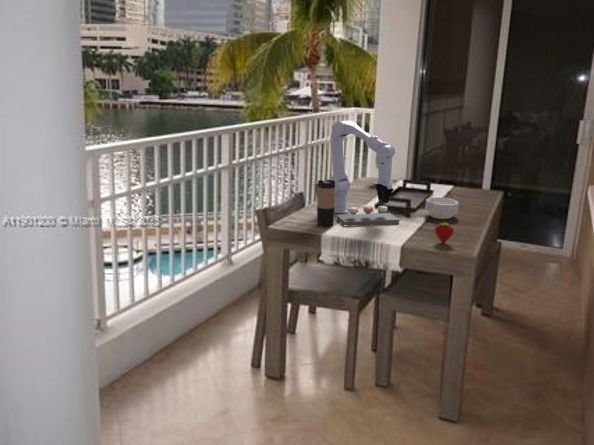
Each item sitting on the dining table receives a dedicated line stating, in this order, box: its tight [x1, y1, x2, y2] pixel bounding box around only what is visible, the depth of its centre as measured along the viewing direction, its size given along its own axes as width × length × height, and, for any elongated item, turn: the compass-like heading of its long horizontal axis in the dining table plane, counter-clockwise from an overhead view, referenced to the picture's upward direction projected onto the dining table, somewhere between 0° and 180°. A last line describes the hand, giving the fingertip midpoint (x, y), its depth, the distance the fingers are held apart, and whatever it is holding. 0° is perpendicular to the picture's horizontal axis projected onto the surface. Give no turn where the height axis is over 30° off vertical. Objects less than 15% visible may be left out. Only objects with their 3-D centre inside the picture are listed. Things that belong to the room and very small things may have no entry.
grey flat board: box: [336, 212, 400, 226], centre depth 267 cm, size 26×12×2 cm, turn 103°
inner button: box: [348, 206, 359, 215], centre depth 265 cm, size 4×4×3 cm
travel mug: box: [316, 179, 335, 228], centre depth 258 cm, size 8×8×20 cm
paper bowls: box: [424, 196, 460, 220], centre depth 278 cm, size 15×15×8 cm
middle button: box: [362, 205, 374, 214], centre depth 266 cm, size 4×4×3 cm
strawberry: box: [434, 220, 454, 244], centre depth 237 cm, size 6×8×10 cm
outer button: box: [377, 205, 388, 213], centre depth 268 cm, size 4×4×3 cm
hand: (383, 201), depth 267 cm, fingers open, 6 cm apart
